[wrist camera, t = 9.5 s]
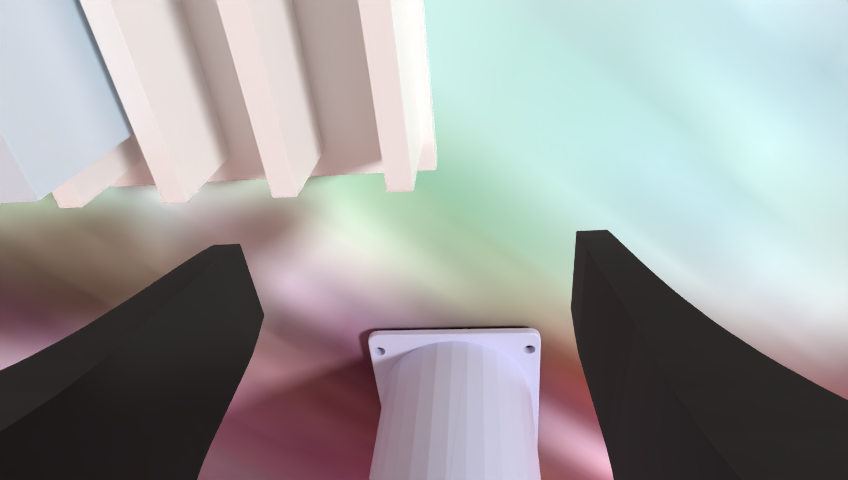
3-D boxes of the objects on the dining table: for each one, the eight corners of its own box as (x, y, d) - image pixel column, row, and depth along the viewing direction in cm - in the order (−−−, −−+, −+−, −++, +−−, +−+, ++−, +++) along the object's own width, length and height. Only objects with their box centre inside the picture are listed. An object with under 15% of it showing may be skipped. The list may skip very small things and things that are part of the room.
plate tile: (174, 104, 19) (38, 201, 13) (132, 107, 19) (-21, 204, 13) (87, -138, 15) (-161, -158, 9) (36, -132, 15) (-241, -146, 9)
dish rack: (437, 158, 20) (429, 218, 16) (54, 179, 22) (-33, 238, 18) (394, -327, 13) (363, -415, 9) (-164, -234, 15) (-378, -277, 11)
